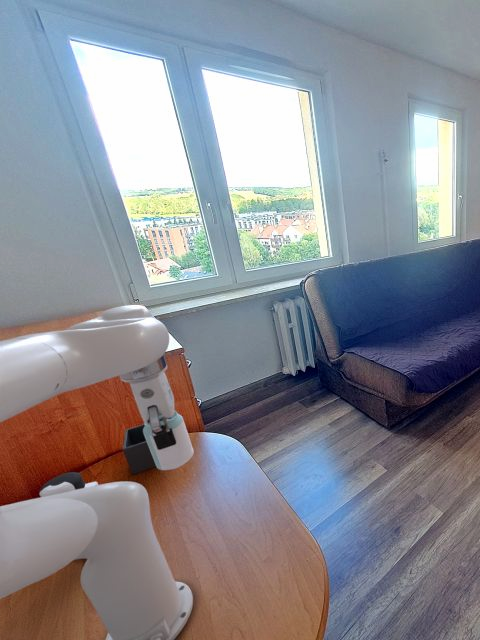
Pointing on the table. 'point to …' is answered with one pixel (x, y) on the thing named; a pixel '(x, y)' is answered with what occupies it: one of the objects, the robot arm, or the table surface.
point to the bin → (137, 450)
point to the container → (64, 484)
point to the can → (173, 454)
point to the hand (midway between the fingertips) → (167, 435)
